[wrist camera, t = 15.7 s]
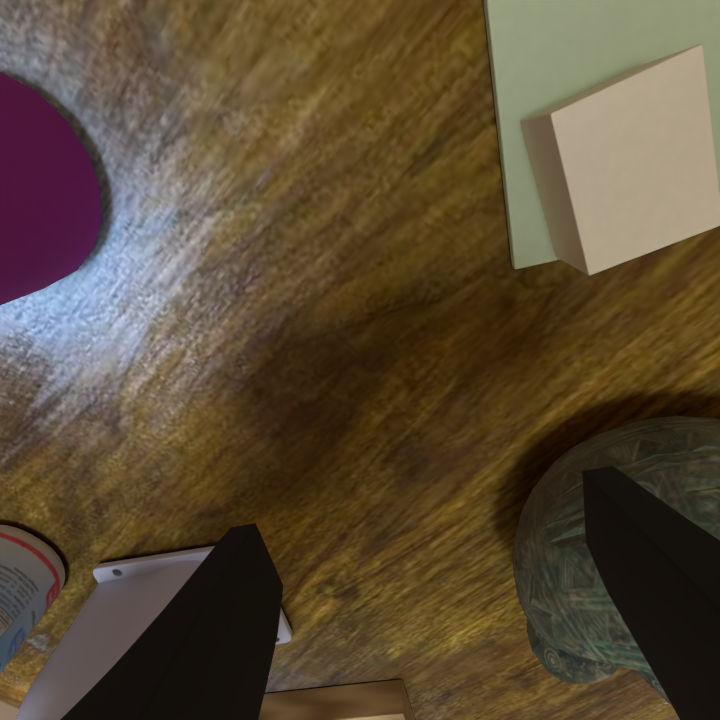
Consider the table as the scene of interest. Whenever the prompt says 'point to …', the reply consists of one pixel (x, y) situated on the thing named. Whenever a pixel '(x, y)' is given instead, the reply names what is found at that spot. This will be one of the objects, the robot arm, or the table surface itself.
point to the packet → (627, 163)
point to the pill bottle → (24, 586)
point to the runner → (578, 78)
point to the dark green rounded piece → (572, 557)
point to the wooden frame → (340, 703)
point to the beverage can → (42, 194)
